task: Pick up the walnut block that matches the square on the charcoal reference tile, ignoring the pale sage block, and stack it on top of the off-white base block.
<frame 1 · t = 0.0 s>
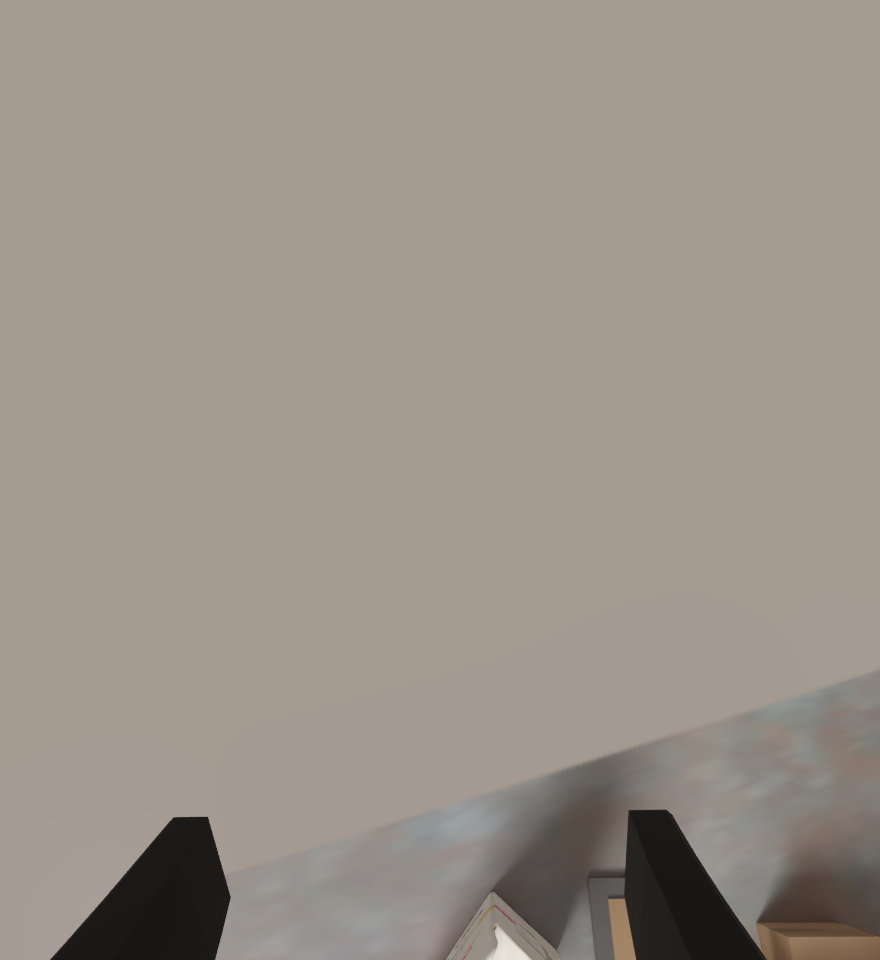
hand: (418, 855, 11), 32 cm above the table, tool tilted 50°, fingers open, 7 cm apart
reference tile: (636, 928, 36), on the table
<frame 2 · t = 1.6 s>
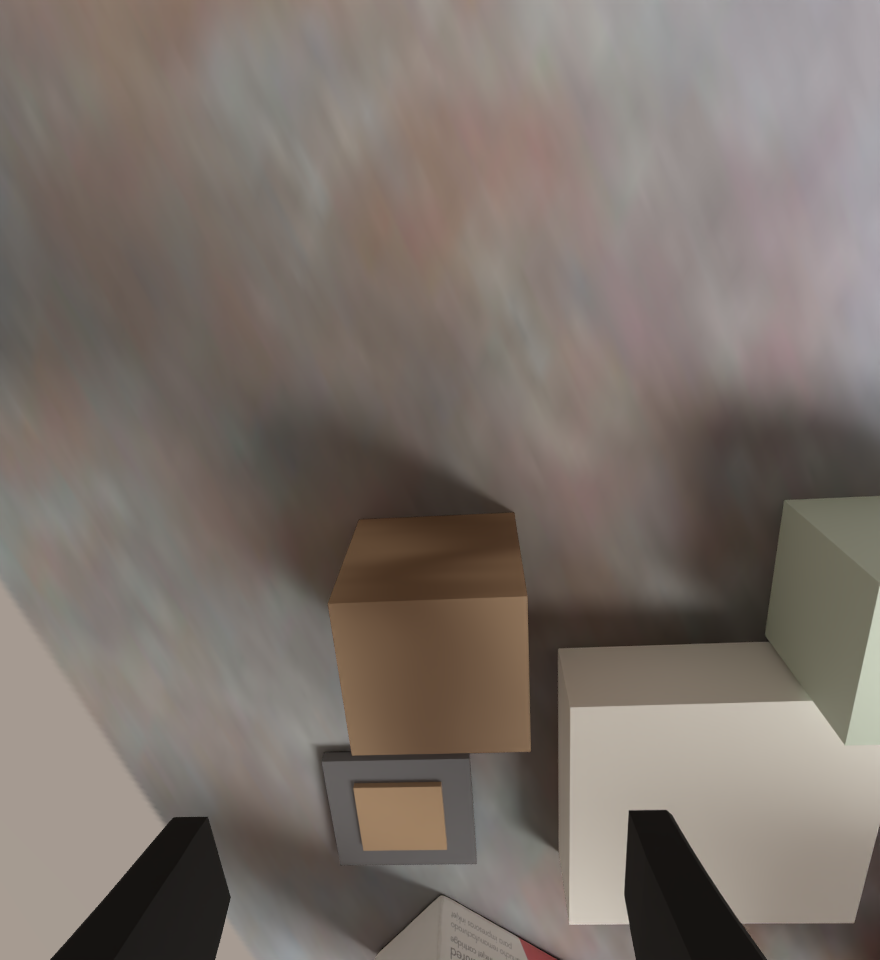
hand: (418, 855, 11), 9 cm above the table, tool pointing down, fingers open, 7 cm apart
walnut block: (441, 581, 19), on the table
reference tile: (402, 804, 23), on the table
sage block: (852, 566, 18), on the table
base block: (689, 745, 22), on the table
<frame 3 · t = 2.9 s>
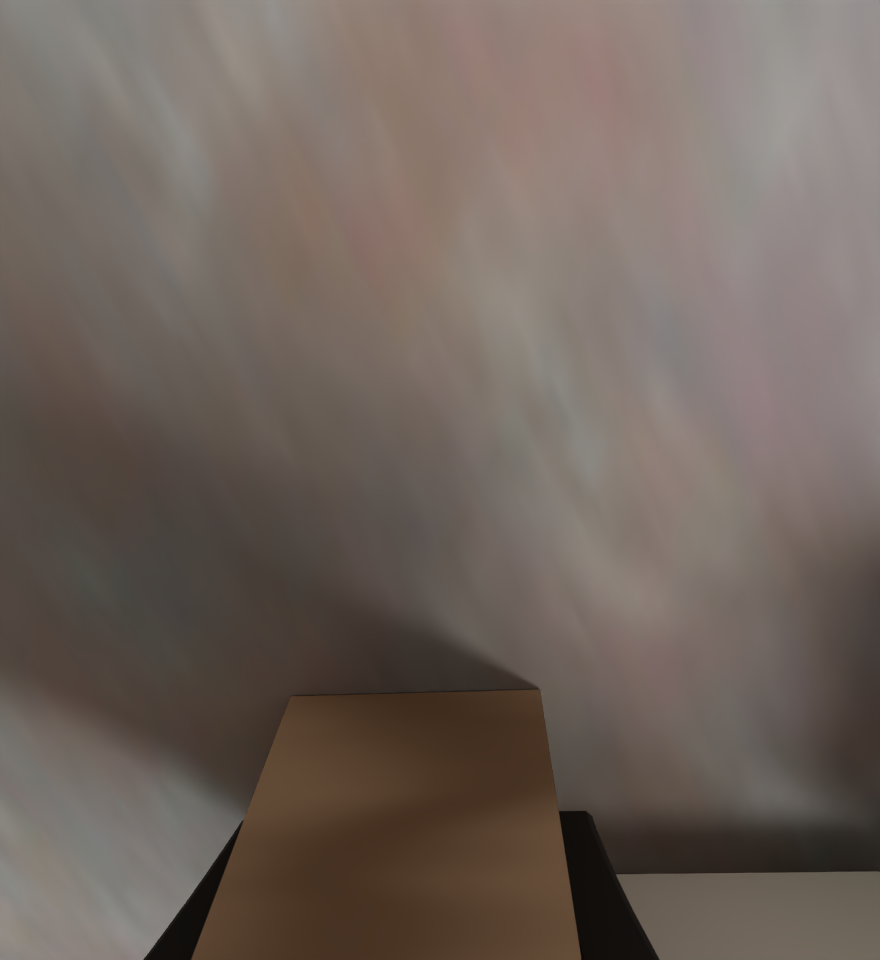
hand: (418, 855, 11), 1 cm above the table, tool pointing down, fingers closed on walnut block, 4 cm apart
walnut block: (423, 786, 12), on the table, touching gripper
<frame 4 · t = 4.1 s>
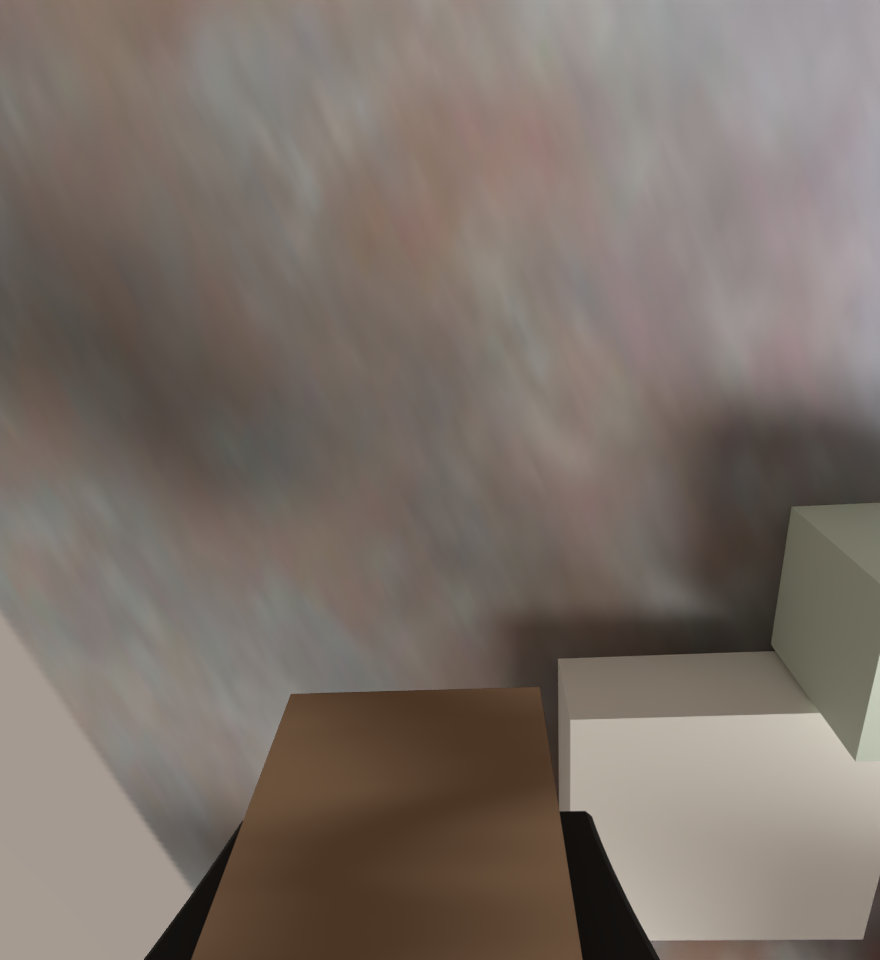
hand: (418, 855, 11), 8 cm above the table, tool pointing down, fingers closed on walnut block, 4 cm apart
walnut block: (423, 784, 12), point 7 cm above the table, touching gripper
sage block: (861, 574, 18), on the table
base block: (693, 756, 21), on the table
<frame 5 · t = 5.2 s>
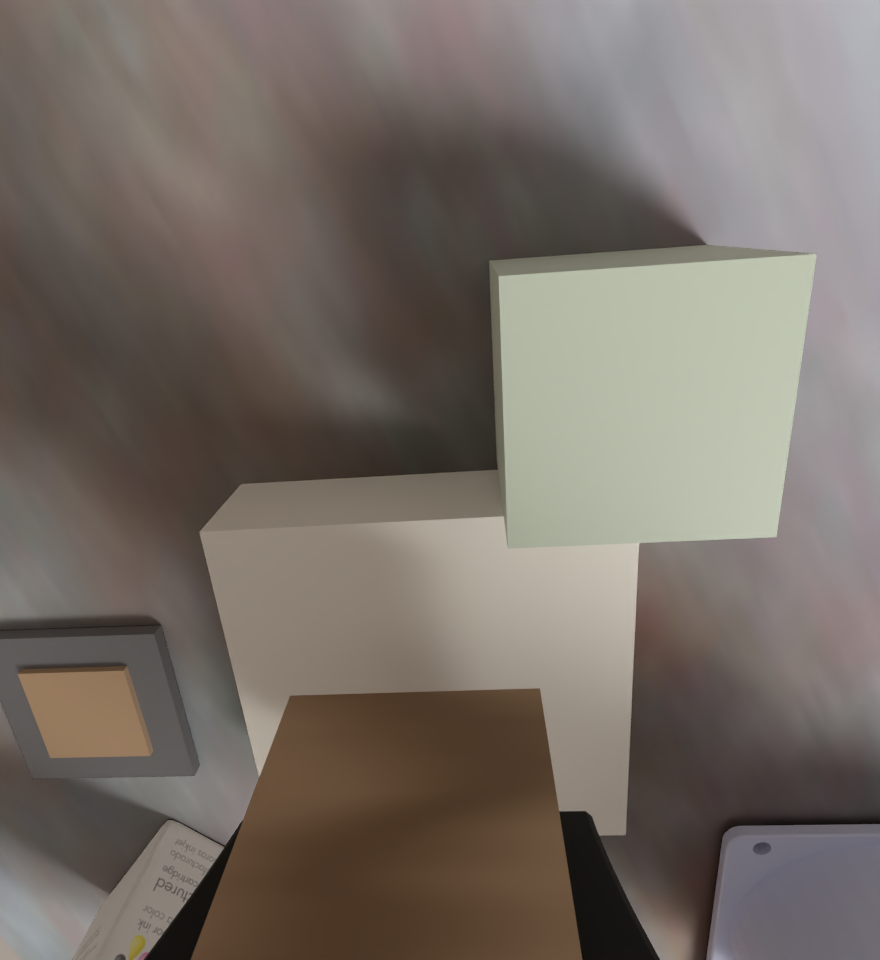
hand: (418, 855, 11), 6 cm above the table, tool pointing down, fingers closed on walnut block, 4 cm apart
ink cartridge box: (249, 903, 22), on the table
walnut block: (423, 785, 12), point 5 cm above the table, touching gripper
reference tile: (97, 701, 18), on the table
sage block: (594, 359, 14), on the table
base block: (438, 621, 17), on the table
when the fingers open (6 cm above the table, at t = 5.7 s): walnut block drops 2 cm, resting on base block.
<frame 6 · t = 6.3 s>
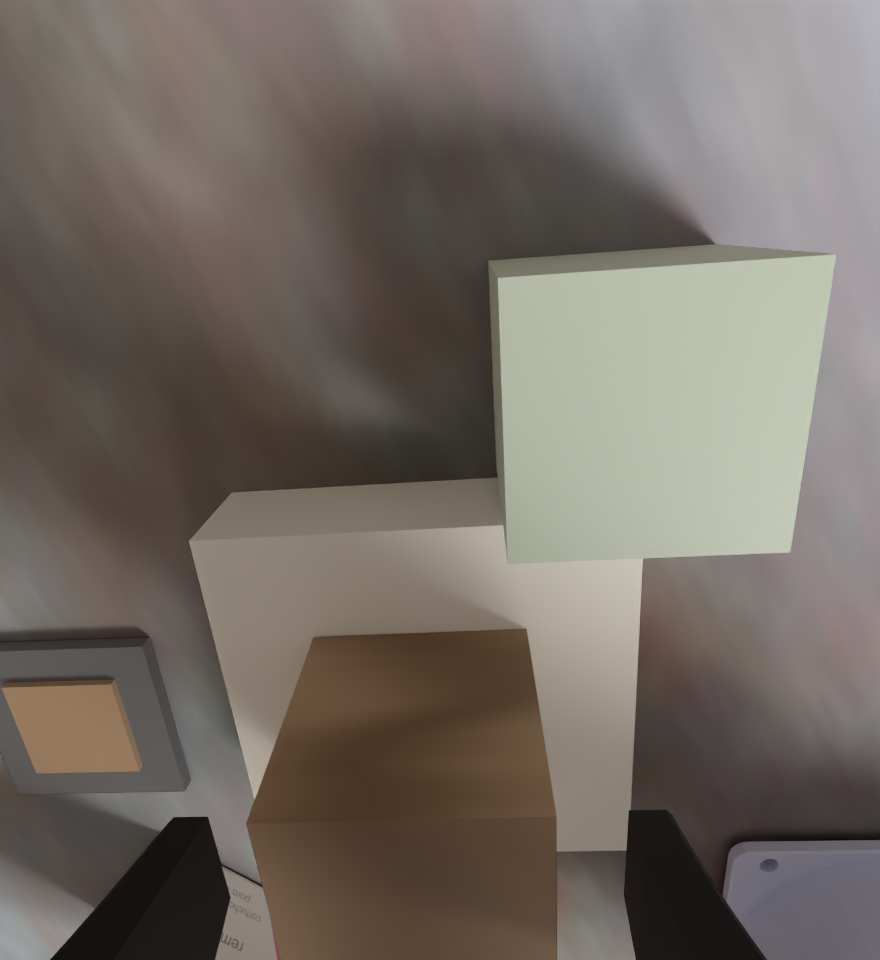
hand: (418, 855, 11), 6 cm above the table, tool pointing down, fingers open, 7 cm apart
ink cartridge box: (242, 919, 21), on the table
walnut block: (427, 717, 14), point 2 cm above the table, touching base block
reference tile: (84, 714, 18), on the table
sage block: (597, 363, 14), on the table
base block: (436, 630, 17), on the table, touching walnut block
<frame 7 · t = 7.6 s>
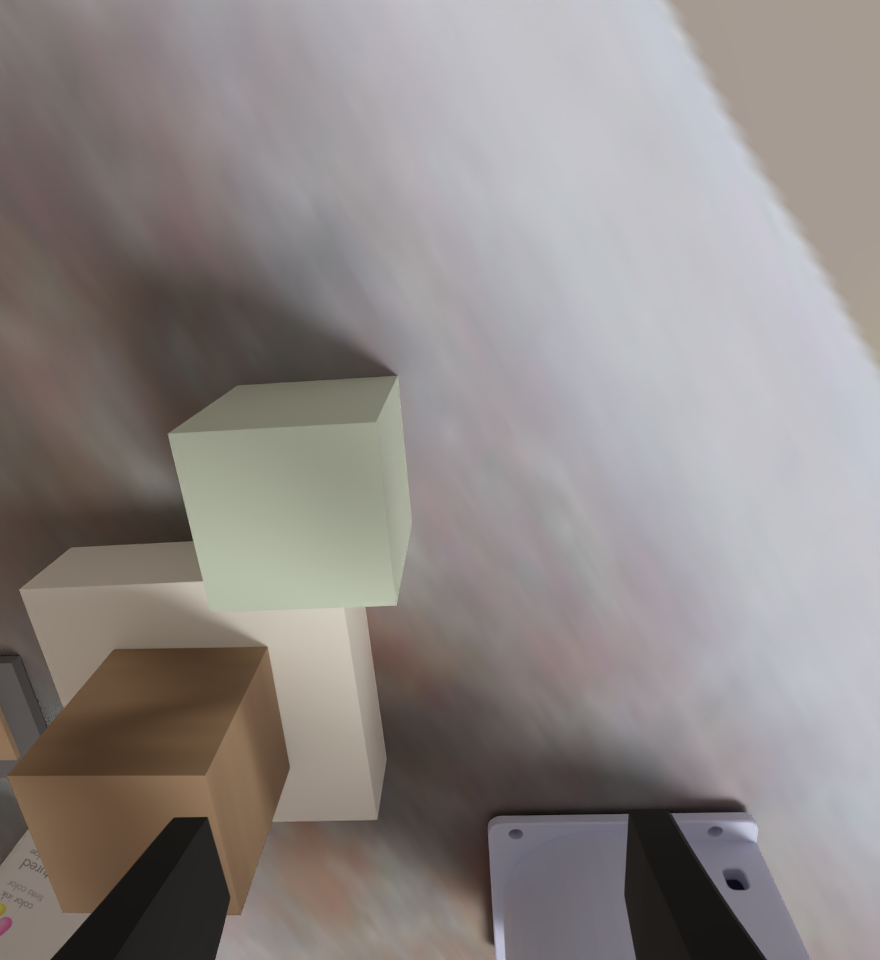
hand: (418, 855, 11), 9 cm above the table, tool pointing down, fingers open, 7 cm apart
ink cartridge box: (117, 882, 26), on the table
walnut block: (205, 710, 19), point 2 cm above the table
sage block: (328, 456, 18), on the table
base block: (244, 650, 22), on the table
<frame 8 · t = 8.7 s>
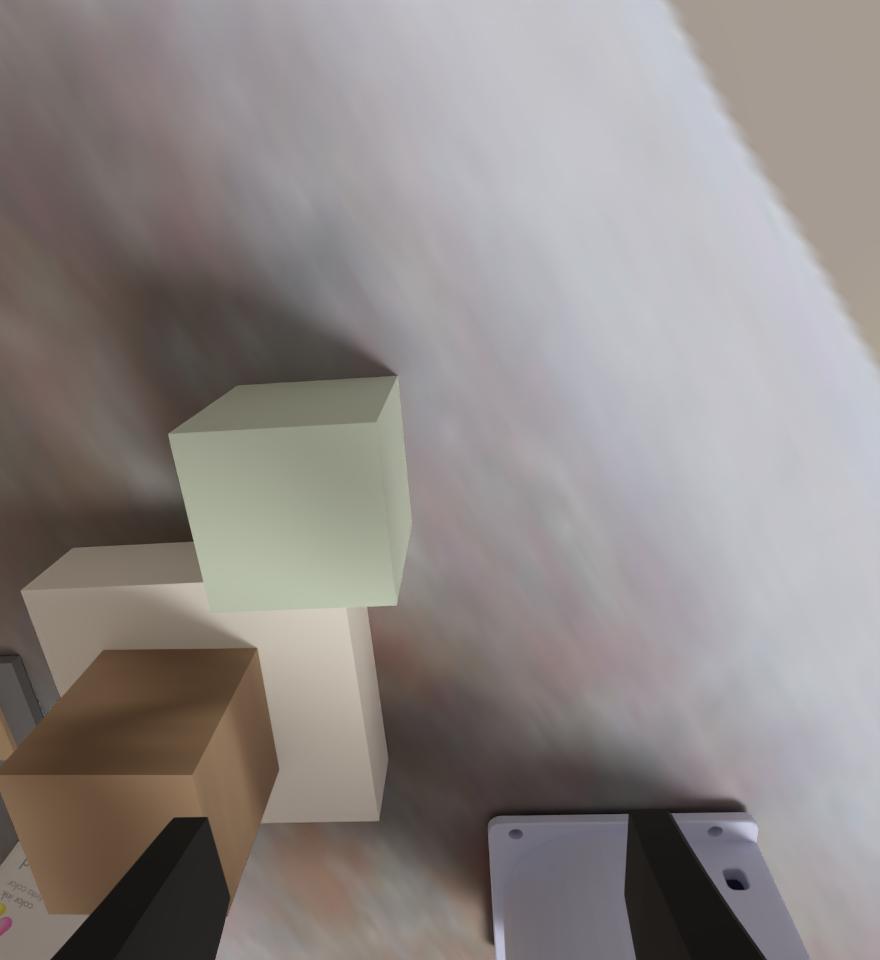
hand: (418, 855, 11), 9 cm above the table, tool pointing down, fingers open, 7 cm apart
ink cartridge box: (117, 882, 26), on the table
walnut block: (194, 711, 19), point 2 cm above the table, touching base block
sage block: (328, 456, 18), on the table
base block: (245, 651, 22), on the table, touching walnut block
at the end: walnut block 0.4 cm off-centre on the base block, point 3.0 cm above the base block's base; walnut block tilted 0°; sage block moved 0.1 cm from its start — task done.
